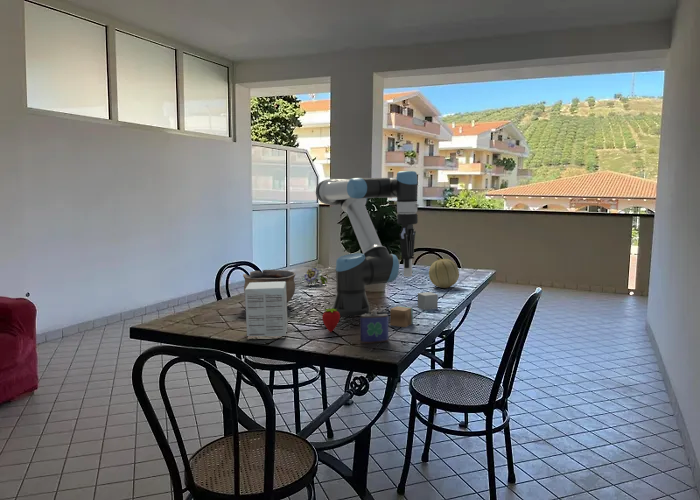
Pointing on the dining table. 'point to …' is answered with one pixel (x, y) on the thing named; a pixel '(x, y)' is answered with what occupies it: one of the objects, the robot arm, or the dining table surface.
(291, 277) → the ceramic bowl
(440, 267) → the cantaloupe
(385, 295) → the dining table surface
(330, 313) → the strawberry
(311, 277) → the passion flower
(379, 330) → the flask
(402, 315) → the brown and green cube
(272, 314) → the supplement box
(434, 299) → the grey block
